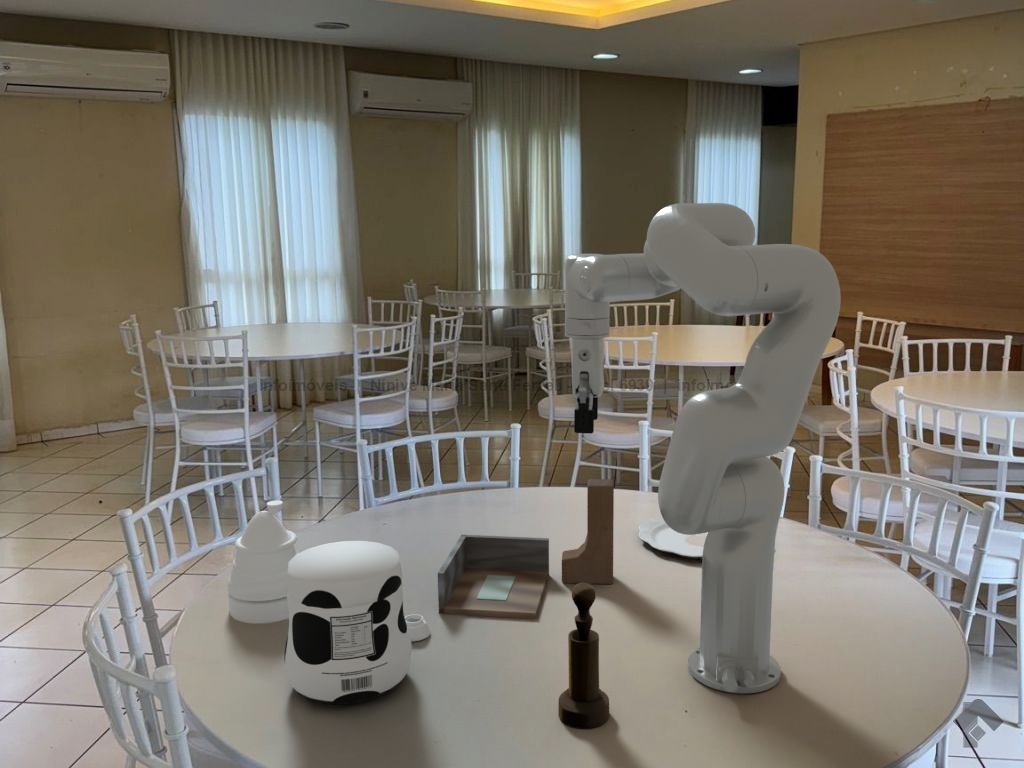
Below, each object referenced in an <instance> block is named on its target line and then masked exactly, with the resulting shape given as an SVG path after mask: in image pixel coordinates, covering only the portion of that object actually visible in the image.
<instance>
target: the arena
mask: <svg viewBox="0 0 1024 768" xmlns="http://www.w3.org/2000/svg"><path fill="white" fill-rule="evenodd" d="M549 577H550V538H548V537H528V536H527V537H525V536H524V537H523V536H505V535H503V536H502V535H501V536H499V535H480V534H479V535H477V534H461V535H460V536H459V538H458V540H457V541H456V543H455V544H454V546H453V548H451V551H450V553H449V554H448V555H447V558H445V561H444V562H443V564H442V565H441V567H440V568H439V570H438V571H437V591H438V592H437V597H438V599H437V600H438V614H445V615H446V614H447V615H461V616H462V615H463V616H476V617H477V616H479V617H480V616H482V617H495V618H497V617H498V618H510V617H511V618H514V619H527V618H530V619H529V620H531V619H532V620H536V619H537V616H538V613H539V609H540V605H541V602H542V600H543V596H544V594H545V590H546V586H547V584H548V580H549ZM546 583H547V584H546Z"/></svg>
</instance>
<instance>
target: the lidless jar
mask: <svg viewBox="0 0 1024 768" xmlns="http://www.w3.org/2000/svg"><path fill="white" fill-rule="evenodd" d="M404 618H405V621H406V624H407V627H408V630H409V633H410V637H411V642H419V641H422V640H425V639H426V638H428V637H429V636H430V634H431V629H430V627H429V625H428V623H427V622H426V620H425V619H424V616H423V615H421V614H417V613H415V614H408V615H406V616H404Z"/></svg>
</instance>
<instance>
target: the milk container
mask: <svg viewBox="0 0 1024 768" xmlns="http://www.w3.org/2000/svg"><path fill="white" fill-rule="evenodd" d="M403 587H404V586H403V572H402V564H401V560H400V556H399V552H398V551H397V550H396V549H394V548H393V547H392V546H390V545H386V544H384V543H381V542H376V541H375V542H374V541H365V540H343V541H336V542H330V543H329V542H327V543H324V544H320V545H317V546H313V547H309V548H306V549H305V550H302V551H301V552H298V554H296V555H295V556H294V557H293V558H292V559H291V560H290V561H289V564H288V572H287V591H288V593H287V603H288V612H289V618H288V629H287V630H288V632H287V635H286V640H285V646H284V654H283V656H284V658H283V659H284V667H285V672H286V675H287V679H288V682H289V683H290V685H291V686H292V688H293V689H294V690H295V692H297V694H299V695H300V696H303V697H305V698H306V699H309V700H312V701H313V702H316V703H317V702H319V703H324V704H328V705H341V704H342V705H344V704H345V705H347V704H350V705H351V704H356V703H359V702H365V701H369V700H373V699H375V698H378V697H379V696H382V695H384V694H387V693H389V692H390V691H391V690H393V689H394V688H396V687H397V686H398V685H399V684H400V683H401V682H402V681H403V680H404V679H405V677H406V675H407V673H408V671H409V669H410V664H411V658H412V641H411V637H410V633H409V630H408V627H407V624H406V621H405V618H404V617H405V614H404V588H403Z"/></svg>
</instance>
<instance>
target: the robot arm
mask: <svg viewBox="0 0 1024 768" xmlns="http://www.w3.org/2000/svg"><path fill="white" fill-rule="evenodd" d="M755 239H756V228H755V224H754V221H753V220H752V217H750V215H749V214H748V213H747V212H746V211H745V210H743V209H742V208H741V207H738V206H737V205H734V204H730V203H724V202H723V203H722V202H704V203H703V202H702V203H701V202H698V203H697V202H696V203H695V202H693V203H692V202H691V203H690V202H687V203H686V202H683V203H681V202H680V203H674V204H669V205H667V206H665V207H663V208H662V209H660V210H659V211H658V212H657V213H656V214H655V215H654V216H653V218H652V219H651V220H650V223H649V226H648V228H647V233H646V240H645V242H644V245H643V253H641V252H639V253H616V254H601V253H576V254H571V255H569V256H568V257H567V258H566V260H565V263H564V265H565V266H564V285H565V286H564V338H565V337H566V338H567V339H568V338H569V339H571V385H572V387H571V389H572V395H574V396H575V405H574V406H575V409H574V413H573V414H574V417H573V418H574V423H573V424H574V425H573V426H574V429H573V430H574V433H575V434H589V435H590V434H593V433H594V431H595V430H594V429H595V428H594V427H595V425H594V424H595V421H596V420H598V416H599V415H598V414H599V412H598V411H599V410H598V409H599V404H598V403H599V397H601V396H602V395H603V392H604V388H605V346H604V339H607V338H609V337H610V320H611V319H610V316H611V315H610V314H611V313H610V312H611V311H610V310H611V307H610V306H611V305H610V304H611V303H617V302H624V301H625V302H628V301H644V300H651V299H656V298H659V297H662V296H665V295H668V294H671V293H673V292H677V291H678V290H682V291H683V292H684V293H686V295H688V296H689V297H690V298H691V299H692V300H693V301H695V302H696V304H698V305H699V306H700V307H701V308H703V309H704V310H705V311H707V312H709V313H712V314H714V315H718V316H723V317H737V316H749V315H761V314H771V313H773V317H772V319H771V320H770V321H769V323H768V324H767V325H766V326H765V327H764V328H763V329H762V331H760V333H759V334H758V335H757V337H756V338H755V340H754V341H753V342H752V344H751V346H750V348H749V350H748V353H747V355H746V359H745V362H744V366H743V368H742V371H741V374H740V376H739V379H738V380H737V381H736V383H735V384H733V385H731V386H729V387H725V388H717V389H710V390H706V391H702V392H700V393H697V394H695V395H693V396H692V397H691V398H689V399H688V400H687V402H686V403H685V404H684V405H683V406H682V408H681V410H680V411H679V413H678V415H677V418H676V421H675V424H674V427H673V431H672V434H671V437H670V441H669V443H668V444H669V445H668V449H667V451H666V455H665V460H664V463H663V467H662V471H661V475H660V478H659V479H660V480H659V484H658V491H657V492H658V493H657V499H658V508H659V510H660V514H661V515H660V516H662V517H663V519H664V521H665V522H666V524H667V525H668V526H669V527H670V528H671V529H673V530H674V531H676V532H678V533H681V534H685V535H696V534H702V533H707V532H708V534H707V536H705V540H704V543H703V547H704V548H703V556H702V559H701V560H702V564H701V590H700V593H701V595H700V597H701V598H700V633H699V634H700V638H699V647H698V648H696V649H695V650H694V651H693V652H692V653H691V654H690V655H689V658H688V664H687V667H688V670H689V672H690V674H691V676H693V678H695V680H697V681H698V682H699V683H701V684H703V685H705V686H707V687H709V688H712V689H714V690H717V691H720V692H721V691H722V692H725V693H732V694H744V695H745V694H755V693H760V692H765V691H767V690H769V689H772V688H773V687H775V686H776V685H777V684H779V681H780V680H781V665H780V663H779V662H778V661H777V660H776V658H774V657H773V656H771V653H770V651H771V650H770V649H771V631H772V630H771V627H772V606H773V605H772V603H773V601H772V600H773V582H774V581H773V580H774V578H773V577H774V566H775V565H774V563H775V547H776V536H777V531H778V526H779V521H780V517H781V514H782V510H783V505H784V500H785V494H786V493H785V490H786V489H785V481H784V476H783V474H782V472H781V470H780V468H779V466H778V464H776V463H775V462H774V461H773V460H772V459H771V458H769V456H770V457H771V456H773V455H777V454H779V453H781V452H783V451H784V450H786V448H788V446H789V444H790V443H791V441H792V439H793V437H794V434H795V432H796V430H797V427H798V424H799V421H800V419H801V415H802V413H803V410H804V408H805V404H806V402H807V399H808V396H809V393H810V390H811V387H812V384H813V381H814V378H815V374H816V371H817V370H818V366H819V364H820V362H821V360H822V357H823V356H824V353H825V351H826V349H827V347H828V344H829V343H830V341H831V338H832V336H833V333H834V331H835V329H836V326H837V324H838V320H839V316H840V311H841V301H842V300H841V299H842V297H841V287H840V281H839V279H838V276H837V273H836V270H835V268H834V267H833V265H832V264H831V263H830V261H829V260H828V258H827V257H825V255H823V254H822V253H820V252H819V251H818V250H816V249H814V248H811V247H808V246H804V245H800V244H799V245H798V244H792V243H791V244H790V243H789V244H787V243H772V244H754V243H755ZM696 536H697V535H696Z"/></svg>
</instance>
